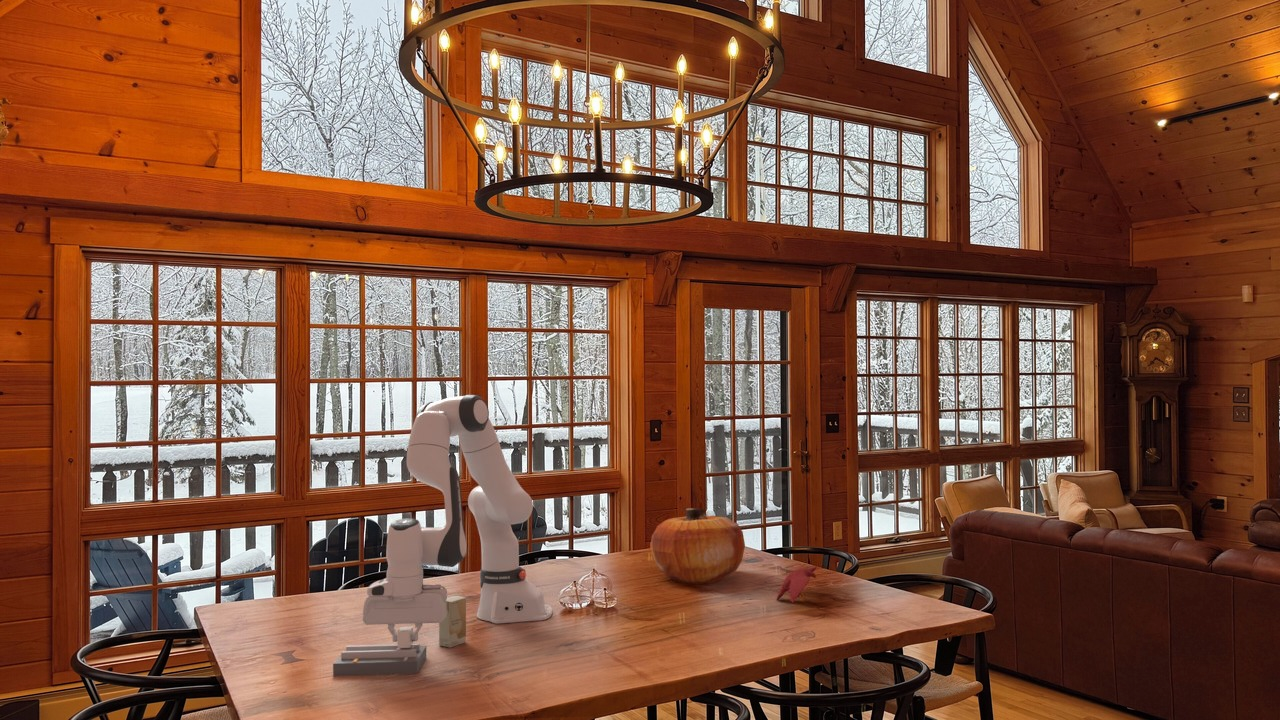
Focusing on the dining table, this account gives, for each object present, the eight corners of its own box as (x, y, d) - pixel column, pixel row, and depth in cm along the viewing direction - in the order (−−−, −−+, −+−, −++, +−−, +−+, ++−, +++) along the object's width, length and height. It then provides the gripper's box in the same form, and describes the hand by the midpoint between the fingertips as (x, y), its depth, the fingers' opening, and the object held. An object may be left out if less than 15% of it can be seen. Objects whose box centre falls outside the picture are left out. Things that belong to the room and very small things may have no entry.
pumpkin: (658, 567, 324) (654, 501, 324) (747, 565, 320) (743, 498, 319) (647, 593, 292) (642, 520, 291) (746, 591, 287) (741, 517, 287)
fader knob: (415, 649, 218) (414, 626, 218) (411, 654, 214) (411, 631, 214) (399, 650, 217) (398, 627, 218) (395, 655, 213) (395, 631, 214)
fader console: (426, 657, 222) (426, 639, 222) (417, 673, 210) (416, 654, 210) (347, 659, 221) (347, 641, 221) (333, 676, 209) (333, 657, 209)
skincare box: (450, 648, 229) (450, 602, 229) (438, 645, 231) (438, 600, 232) (467, 642, 235) (466, 596, 235) (455, 639, 237) (455, 594, 237)
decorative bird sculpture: (784, 627, 260) (818, 593, 257) (761, 604, 262) (795, 570, 259) (798, 603, 287) (829, 572, 283) (777, 583, 289) (807, 551, 286)
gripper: (449, 581, 220) (449, 635, 219) (367, 583, 218) (367, 638, 218) (444, 587, 213) (445, 643, 213) (360, 589, 212) (360, 646, 212)
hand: (405, 640), depth 216 cm, fingers closed on fader knob, 3 cm apart
